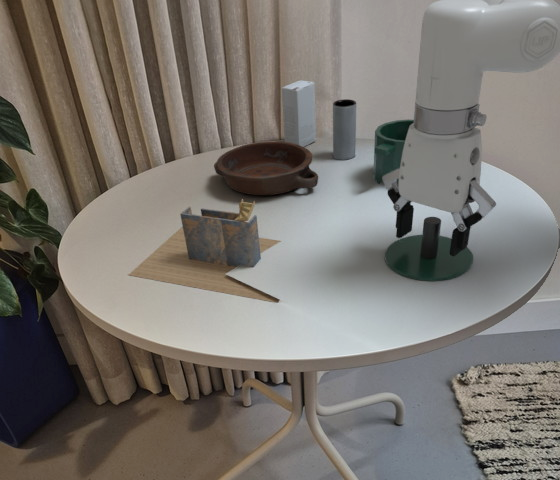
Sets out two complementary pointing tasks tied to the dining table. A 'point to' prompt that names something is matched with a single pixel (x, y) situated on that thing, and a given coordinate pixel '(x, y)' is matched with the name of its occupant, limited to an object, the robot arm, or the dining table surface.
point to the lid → (427, 255)
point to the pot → (389, 147)
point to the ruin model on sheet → (210, 252)
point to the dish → (267, 168)
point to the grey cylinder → (344, 129)
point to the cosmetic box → (299, 113)
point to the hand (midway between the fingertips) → (429, 242)
